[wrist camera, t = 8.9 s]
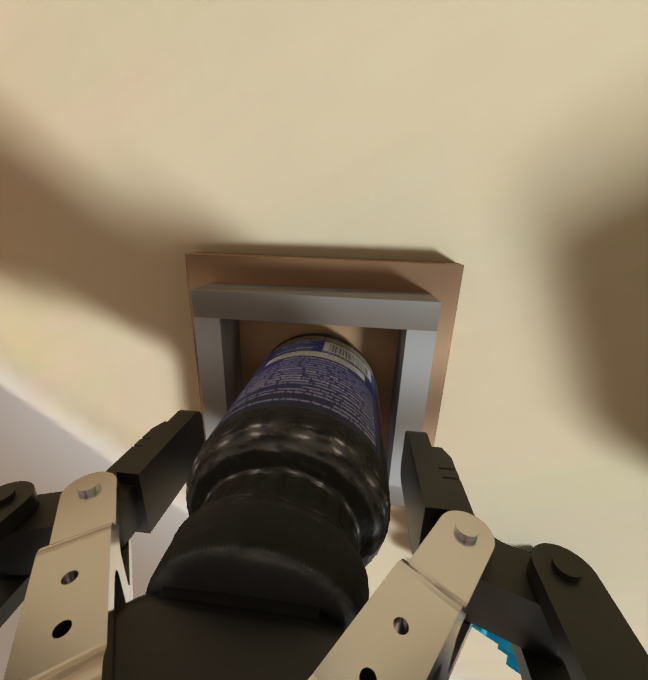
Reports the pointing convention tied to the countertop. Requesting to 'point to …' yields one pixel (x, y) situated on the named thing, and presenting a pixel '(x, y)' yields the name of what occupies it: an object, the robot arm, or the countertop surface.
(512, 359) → the countertop surface
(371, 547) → the pill bottle
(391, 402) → the framed wooden base
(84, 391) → the countertop surface
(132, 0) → the countertop surface
